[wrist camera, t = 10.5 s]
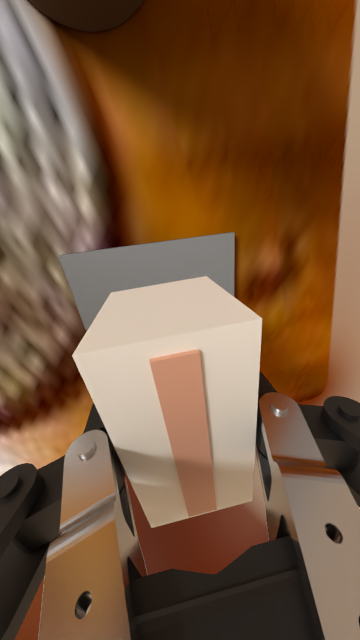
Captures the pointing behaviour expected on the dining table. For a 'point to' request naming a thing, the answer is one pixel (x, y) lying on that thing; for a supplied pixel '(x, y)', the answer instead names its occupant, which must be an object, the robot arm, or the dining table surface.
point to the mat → (146, 268)
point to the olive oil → (88, 12)
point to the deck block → (177, 393)
